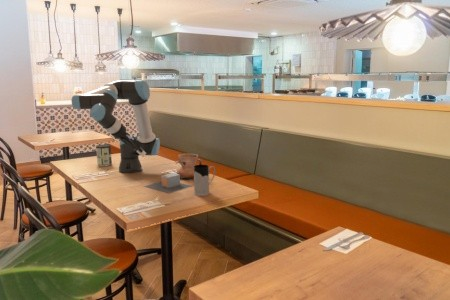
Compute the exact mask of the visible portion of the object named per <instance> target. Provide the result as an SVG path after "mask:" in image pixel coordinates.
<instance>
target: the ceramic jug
mask: <svg viewBox="0 0 450 300" xmlns="http://www.w3.org/2000/svg"><path fill="white" fill-rule="evenodd" d="M177 157H178V160H176V161H175V164H179V165H180V168H178V169H177V171H176V174H180V179H184V180H185V179H186V180H187V179H188V180H190V179H191V180H192V179H194V166H195V165H197V162H199V164H198V165H203V161H202V160H201V158H199V155H198V154H196V153H182V154H178V156H177Z"/></svg>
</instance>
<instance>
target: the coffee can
mask: <svg viewBox="0 0 450 300" xmlns="http://www.w3.org/2000/svg"><path fill="white" fill-rule="evenodd" d="M95 148H96V149H95V150H96V161H97V166H98V167H107V166H111V165H112V164H113V162H112V161H113V160H112V146H111V144H98V145H95Z"/></svg>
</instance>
